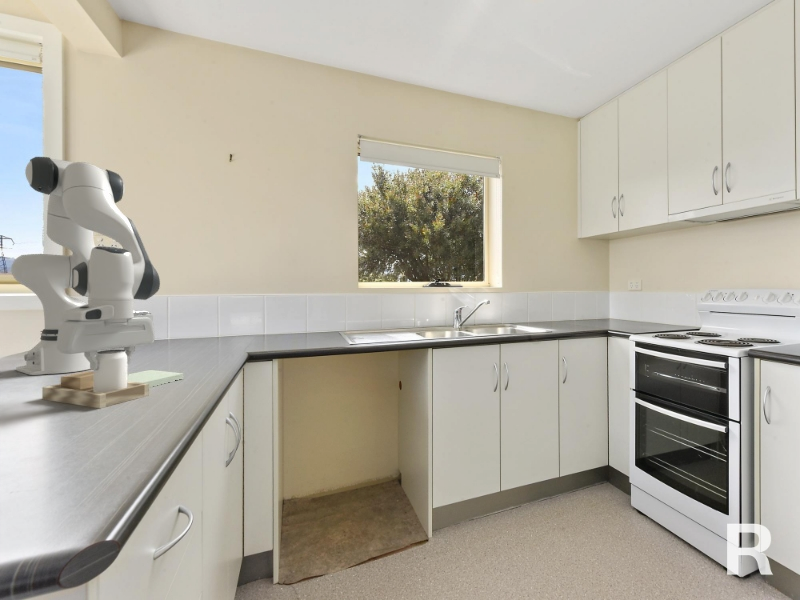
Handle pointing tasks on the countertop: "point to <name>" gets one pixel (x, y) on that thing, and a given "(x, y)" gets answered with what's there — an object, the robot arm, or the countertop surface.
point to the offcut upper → (78, 380)
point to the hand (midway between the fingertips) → (110, 366)
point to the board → (154, 377)
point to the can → (110, 371)
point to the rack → (95, 395)
